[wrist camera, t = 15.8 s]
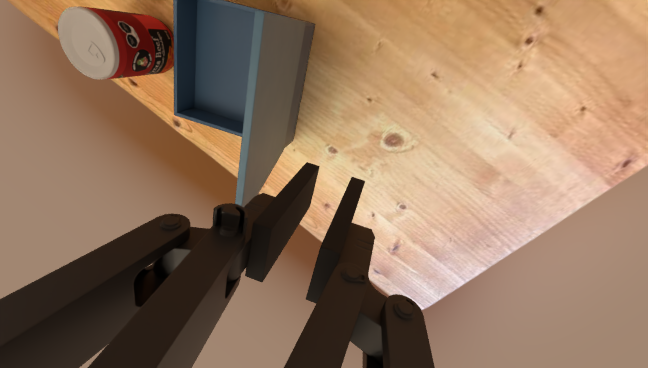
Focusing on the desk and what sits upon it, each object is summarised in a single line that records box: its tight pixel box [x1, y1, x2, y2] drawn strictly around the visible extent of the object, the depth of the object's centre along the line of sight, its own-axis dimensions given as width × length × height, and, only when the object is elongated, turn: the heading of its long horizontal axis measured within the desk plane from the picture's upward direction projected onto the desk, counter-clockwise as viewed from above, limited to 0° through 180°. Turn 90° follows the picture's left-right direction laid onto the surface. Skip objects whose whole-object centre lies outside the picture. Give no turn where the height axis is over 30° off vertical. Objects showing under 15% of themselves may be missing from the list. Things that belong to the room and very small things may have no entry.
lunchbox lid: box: [235, 10, 306, 207], centre depth 29 cm, size 18×16×1 cm
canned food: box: [58, 7, 174, 79], centre depth 40 cm, size 8×8×11 cm
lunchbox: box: [173, 0, 315, 148], centre depth 41 cm, size 17×16×4 cm
